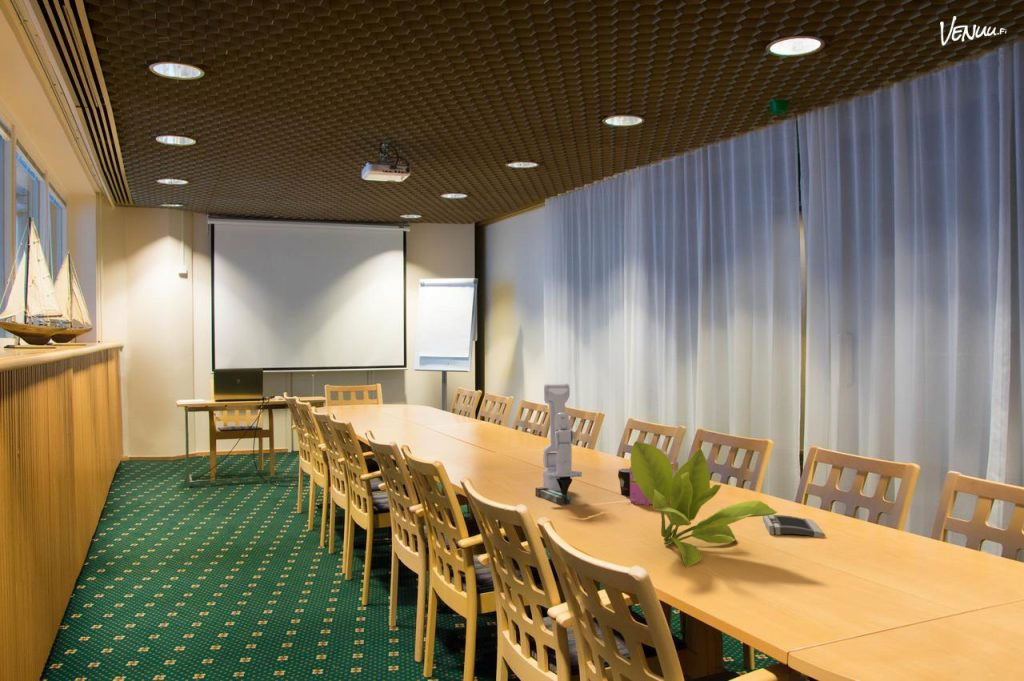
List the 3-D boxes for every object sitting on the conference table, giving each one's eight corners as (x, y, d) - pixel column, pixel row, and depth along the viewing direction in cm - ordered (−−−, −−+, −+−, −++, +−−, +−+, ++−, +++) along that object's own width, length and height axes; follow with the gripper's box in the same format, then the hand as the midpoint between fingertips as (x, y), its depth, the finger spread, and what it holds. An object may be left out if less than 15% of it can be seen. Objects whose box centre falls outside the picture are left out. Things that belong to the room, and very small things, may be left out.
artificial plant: (633, 590, 205) (684, 512, 192) (584, 479, 240) (625, 406, 226) (754, 598, 222) (809, 527, 208) (692, 493, 256) (736, 426, 243)
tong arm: (547, 497, 292) (547, 490, 292) (550, 496, 293) (550, 489, 293) (566, 504, 279) (566, 496, 279) (570, 503, 280) (570, 496, 280)
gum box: (664, 493, 302) (664, 459, 302) (681, 496, 297) (681, 461, 297) (629, 502, 285) (629, 467, 285) (646, 506, 279) (646, 469, 279)
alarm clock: (762, 513, 255) (813, 511, 252) (763, 527, 255) (814, 525, 252) (769, 525, 238) (823, 524, 235) (770, 540, 238) (825, 539, 235)
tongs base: (535, 495, 295) (535, 486, 295) (545, 494, 297) (545, 485, 297) (559, 505, 278) (559, 495, 278) (569, 504, 280) (569, 494, 280)
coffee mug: (642, 497, 293) (642, 472, 293) (619, 497, 293) (619, 472, 293) (637, 491, 305) (637, 467, 305) (616, 491, 305) (616, 467, 305)
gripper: (552, 464, 278) (552, 500, 278) (586, 461, 285) (586, 497, 285) (543, 461, 285) (543, 497, 285) (576, 458, 291) (576, 493, 291)
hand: (564, 497), depth 285 cm, fingers closed
